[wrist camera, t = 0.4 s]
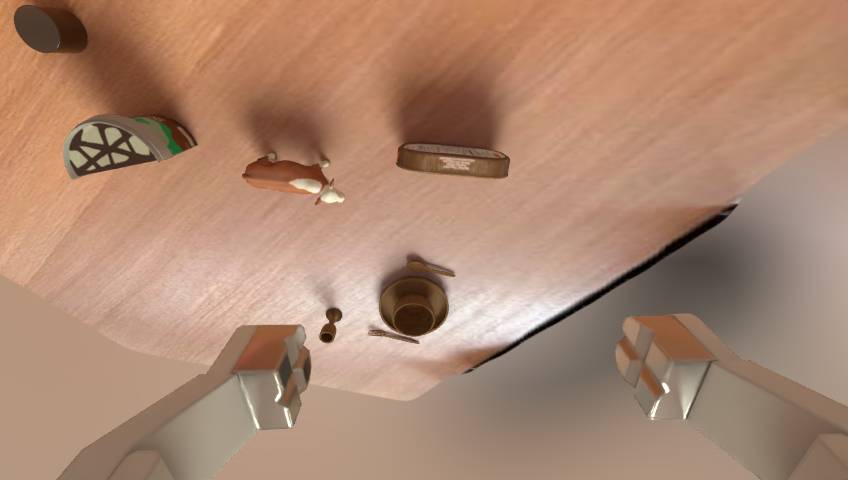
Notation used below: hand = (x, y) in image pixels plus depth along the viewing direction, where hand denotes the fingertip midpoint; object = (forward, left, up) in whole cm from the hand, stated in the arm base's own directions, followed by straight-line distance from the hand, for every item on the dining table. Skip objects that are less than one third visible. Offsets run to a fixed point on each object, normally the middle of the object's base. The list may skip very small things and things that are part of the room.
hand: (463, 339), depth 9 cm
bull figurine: (+8, -18, -46) cm, 50 cm away
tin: (+6, +3, -46) cm, 46 cm away
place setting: (+31, -7, -46) cm, 56 cm away
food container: (+2, -38, -46) cm, 60 cm away
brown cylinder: (-10, -45, -46) cm, 65 cm away
